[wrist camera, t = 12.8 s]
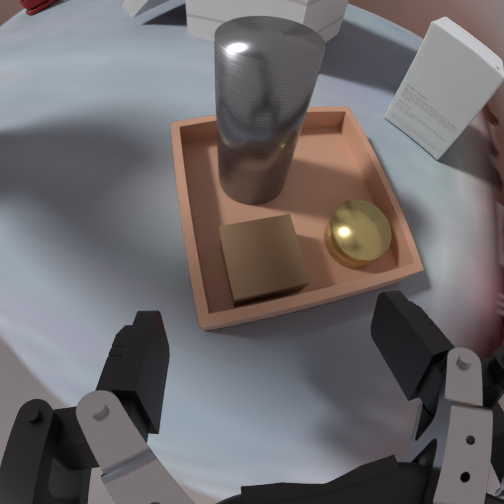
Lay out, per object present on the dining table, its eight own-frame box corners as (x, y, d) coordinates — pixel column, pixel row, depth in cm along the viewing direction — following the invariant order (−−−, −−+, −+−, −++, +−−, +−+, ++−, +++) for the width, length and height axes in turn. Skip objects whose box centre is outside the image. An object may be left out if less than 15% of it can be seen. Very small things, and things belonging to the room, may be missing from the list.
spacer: (224, 210, 19) (223, 65, 8) (213, 155, 20) (208, 18, 10) (292, 199, 19) (344, 64, 9) (275, 147, 21) (303, 17, 10)
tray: (205, 331, 17) (199, 327, 14) (176, 148, 21) (170, 122, 18) (400, 281, 19) (424, 270, 16) (338, 129, 23) (348, 106, 20)
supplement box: (450, 132, 25) (505, 61, 14) (436, 162, 23) (507, 79, 11) (402, 93, 27) (445, 14, 15) (380, 116, 25) (431, 19, 13)
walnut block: (233, 306, 17) (234, 299, 14) (220, 243, 18) (218, 226, 15) (299, 292, 17) (310, 282, 15) (282, 231, 18) (289, 213, 16)
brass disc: (324, 266, 18) (334, 256, 16) (323, 210, 19) (331, 195, 17) (380, 271, 18) (394, 261, 16) (375, 217, 19) (387, 204, 17)
